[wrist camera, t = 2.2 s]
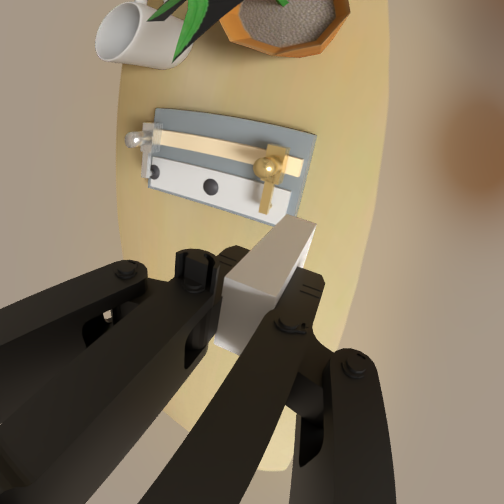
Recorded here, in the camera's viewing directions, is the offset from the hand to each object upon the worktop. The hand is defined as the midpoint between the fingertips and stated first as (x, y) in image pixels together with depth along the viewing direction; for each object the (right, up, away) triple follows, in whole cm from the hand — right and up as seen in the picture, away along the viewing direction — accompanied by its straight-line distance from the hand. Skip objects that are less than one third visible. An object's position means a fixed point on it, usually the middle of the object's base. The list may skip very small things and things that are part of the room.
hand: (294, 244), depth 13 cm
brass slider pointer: (+1, +8, +17) cm, 19 cm away
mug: (-13, +31, +16) cm, 37 cm away
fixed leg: (-15, +14, +21) cm, 30 cm away
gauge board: (-6, +12, +22) cm, 25 cm away
